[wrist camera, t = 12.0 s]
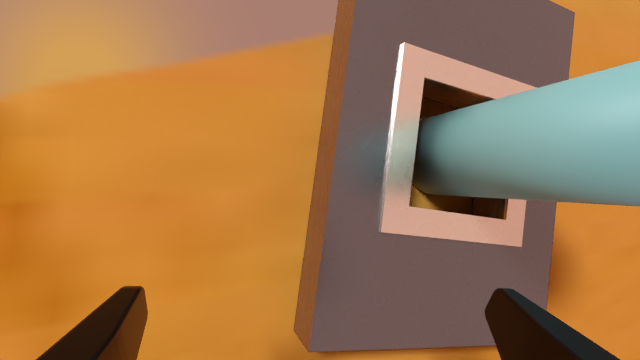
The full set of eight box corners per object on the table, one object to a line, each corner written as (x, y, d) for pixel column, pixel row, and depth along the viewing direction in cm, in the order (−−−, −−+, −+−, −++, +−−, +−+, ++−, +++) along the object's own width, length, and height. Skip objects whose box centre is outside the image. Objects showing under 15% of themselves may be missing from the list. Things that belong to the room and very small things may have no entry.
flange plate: (508, 327, 24) (546, 345, 21) (293, 330, 18) (309, 354, 16) (539, 28, 25) (577, 11, 23) (346, -55, 20) (368, -90, 17)
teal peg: (440, 210, 22) (749, 246, 10) (388, 161, 21) (673, 132, 8) (477, 151, 23) (796, 117, 11) (429, 100, 22) (734, -3, 9)
